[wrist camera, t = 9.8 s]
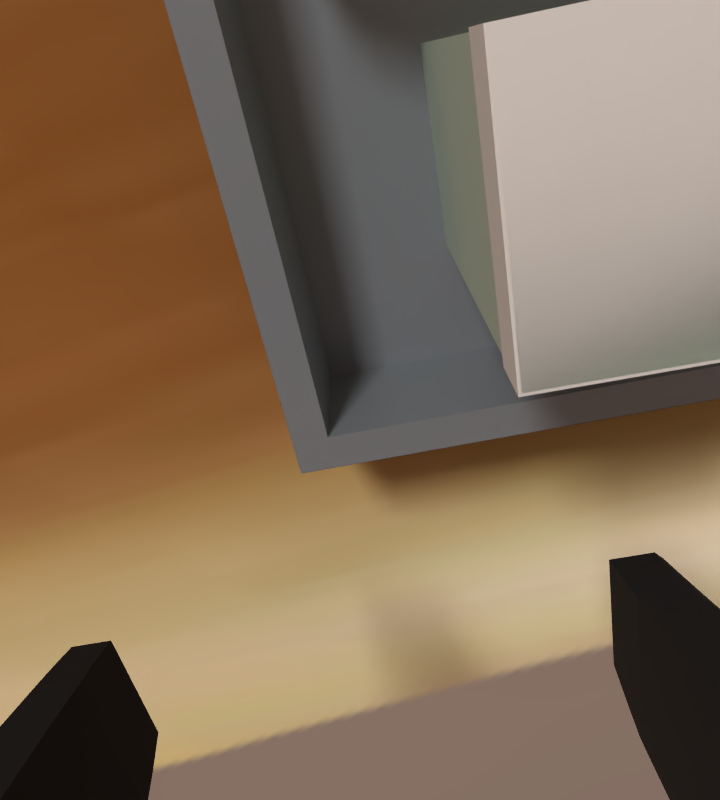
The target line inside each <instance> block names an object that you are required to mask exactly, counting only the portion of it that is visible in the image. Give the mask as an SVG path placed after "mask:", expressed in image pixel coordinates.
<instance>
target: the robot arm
mask: <svg viewBox="0 0 720 800" xmlns="http://www.w3.org/2000/svg"><path fill="white" fill-rule="evenodd" d="M609 564H610V587H611V609H612V631H613V653H614V666H615V669H616V671H617V674H618V677H619V680H620V683H621V686H622V689H623V691H624V694H625V697H626V700H627V703H628V706H629V708H630V711H631V714H632V716H633V719H634V722H635V724H636V727H637V729H638V733H639V735H640V738H641V740H642V742H643V744H644V746H645V749H646V751H647V753H648V755H649V757H650V759H651V761H652V763H653V765H654V767H655V770H656V772H657V774H658V776H659V778H660V780H661V782H662V784H663V786H664V789H665V790H666V793H667V794H668V797H669V799H670V800H720V609H719V608H718V607H717V606H716V605H715V604H714V603H712V602H711V601H710V600H709V599H708V598H707V597H706V596H704V595H703V594H702V593H701V592H700V591H699V590H698V589H696V588H695V587H694V586H693V585H692V584H691V583H690V582H689V581H688V580H686V579H685V578H684V577H683V576H682V575H681V574H680V573H679V572H677V571H676V570H675V569H674V568H673V567H672V566H671V565H670V564H669V563H668V562H666V561H665V560H664V559H663V558H662V557H660V556H659V555H657V554H656V553H649V554H642V555H636V556H630V557H624V558H618V559H612V560H609ZM157 737H158V731H157V729H156V727H155V725H154V723H153V721H152V719H151V718H150V716H149V714H148V712H147V710H146V708H145V706H144V704H143V702H142V700H141V698H140V696H139V694H138V692H137V690H136V688H135V686H134V684H133V682H132V681H131V679H130V677H129V675H128V673H127V671H126V669H125V667H124V665H123V663H122V661H121V659H120V657H119V655H118V653H117V651H116V649H115V647H114V646H113V644H112V642H111V641H106V642H100V643H94V644H88V645H82V646H76V647H71V649H70V650H69V651H68V652H67V653H66V654H65V655H64V656H63V657H62V658H61V659H60V660H59V661H58V662H57V663H56V664H55V665H54V667H53V668H52V669H51V670H50V671H49V672H48V673H47V674H46V675H45V677H44V678H43V679H42V680H41V681H40V682H39V683H38V684H37V685H36V687H35V688H34V689H33V690H32V691H31V692H30V693H29V695H28V696H27V697H26V698H25V699H24V700H23V701H22V703H21V704H20V705H19V706H18V707H17V708H16V709H15V710H14V712H13V713H12V714H11V715H10V716H9V717H8V718H7V720H6V721H5V722H4V723H3V724H2V725H1V726H0V800H148V795H149V790H150V784H151V779H152V773H153V766H154V759H155V752H156V745H157Z"/></svg>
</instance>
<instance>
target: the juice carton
mask: <svg viewBox="0 0 720 800" xmlns="http://www.w3.org/2000/svg"><path fill="white" fill-rule="evenodd" d="M468 28H469V32H467V33H463V34H459V35H454V36H450V37H446V38H442V39H437V40H433V41H429V42H425V43H420V48H421V56H422V63H423V71H424V78H425V86H426V93H427V101H428V108H429V116H430V123H431V131H432V138H433V146H434V153H435V161H436V168H437V176H438V183H439V191H440V198H441V206H442V213H443V221H444V228H445V236H446V243H447V247H448V249H449V251H450V253H451V255H452V257H453V259H454V261H455V263H456V265H457V267H458V269H459V271H460V273H461V275H462V277H463V279H464V281H465V283H466V285H467V287H468V289H469V291H470V293H471V295H472V297H473V299H474V301H475V302H476V304H477V306H478V308H479V310H480V312H481V314H482V316H483V318H484V320H485V322H486V324H487V326H488V328H489V330H490V332H491V334H492V336H493V338H494V340H495V342H496V344H497V346H498V348H499V350H500V352H501V354H502V358H503V367H504V369H505V371H506V373H507V375H508V377H509V379H510V381H511V383H512V385H513V387H514V389H515V391H516V394H517V396H518V397H523V396H529V395H535V394H540V393H546V392H552V391H558V390H564V389H569V388H575V387H581V386H587V385H592V384H598V383H604V382H610V381H616V380H621V379H627V378H633V377H639V376H644V375H650V374H656V373H662V372H668V371H673V370H679V369H685V368H691V367H696V366H702V365H708V364H714V363H720V0H589V1H584V2H579V3H575V4H570V5H565V6H561V7H556V8H552V9H547V10H542V11H538V12H533V13H528V14H524V15H519V16H514V17H510V18H505V19H501V20H496V21H491V22H487V23H482V24H479V25H475V26H471V27H468Z"/></svg>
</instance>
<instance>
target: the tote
mask: <svg viewBox="0 0 720 800" xmlns="http://www.w3.org/2000/svg"><path fill="white" fill-rule="evenodd" d="M584 1H589V0H164V2H165V6H166V9H167V13H168V16H169V20H170V23H171V26H172V30H173V33H174V37H175V40H176V44H177V47H178V51H179V54H180V57H181V61H182V64H183V68H184V71H185V75H186V78H187V82H188V85H189V88H190V92H191V95H192V99H193V102H194V106H195V109H196V113H197V116H198V119H199V123H200V126H201V130H202V133H203V137H204V140H205V143H206V147H207V150H208V154H209V157H210V161H211V164H212V168H213V171H214V174H215V178H216V181H217V185H218V188H219V192H220V195H221V199H222V202H223V205H224V209H225V212H226V216H227V219H228V223H229V226H230V230H231V233H232V236H233V240H234V243H235V247H236V250H237V254H238V257H239V260H240V264H241V267H242V271H243V274H244V278H245V281H246V285H247V288H248V291H249V295H250V298H251V302H252V305H253V309H254V312H255V316H256V319H257V322H258V326H259V329H260V333H261V336H262V340H263V343H264V347H265V350H266V353H267V357H268V360H269V364H270V367H271V371H272V374H273V377H274V381H275V384H276V388H277V391H278V395H279V398H280V402H281V405H282V408H283V412H284V415H285V419H286V422H287V426H288V429H289V433H290V436H291V439H292V443H293V446H294V450H295V453H296V457H297V460H298V464H299V467H300V470H301V474H302V473H307V472H313V471H318V470H324V469H329V468H335V467H341V466H346V465H352V464H357V463H363V462H368V461H374V460H380V459H385V458H391V457H396V456H402V455H408V454H413V453H419V452H424V451H430V450H435V449H441V448H447V447H452V446H458V445H463V444H469V443H474V442H480V441H486V440H491V439H497V438H502V437H508V436H513V435H519V434H525V433H530V432H536V431H541V430H547V429H553V428H558V427H564V426H569V425H575V424H580V423H586V422H592V421H597V420H603V419H608V418H614V417H619V416H625V415H631V414H636V413H642V412H647V411H653V410H658V409H664V408H670V407H675V406H681V405H686V404H692V403H698V402H703V401H709V400H714V399H720V363H714V364H708V365H702V366H696V367H691V368H685V369H679V370H673V371H668V372H662V373H656V374H650V375H644V376H639V377H633V378H627V379H621V380H616V381H610V382H604V383H598V384H592V385H587V386H581V387H575V388H569V389H564V390H558V391H552V392H546V393H540V394H535V395H529V396H523V397H518V396H517V394H516V391H515V389H514V387H513V385H512V383H511V381H510V379H509V377H508V375H507V373H506V371H505V369H504V367H503V358H502V354H501V352H500V350H499V348H498V346H497V344H496V342H495V340H494V338H493V336H492V334H491V332H490V330H489V328H488V326H487V324H486V322H485V320H484V318H483V316H482V314H481V312H480V310H479V308H478V306H477V304H476V302H475V301H474V299H473V297H472V295H471V293H470V291H469V289H468V287H467V285H466V283H465V281H464V279H463V277H462V275H461V273H460V271H459V269H458V267H457V265H456V263H455V261H454V259H453V257H452V255H451V253H450V251H449V249H448V247H447V243H446V236H445V228H444V221H443V213H442V206H441V198H440V191H439V183H438V176H437V168H436V161H435V153H434V146H433V138H432V131H431V123H430V116H429V108H428V101H427V93H426V86H425V78H424V71H423V63H422V56H421V48H420V43H425V42H429V41H433V40H437V39H442V38H446V37H450V36H454V35H459V34H463V33H467V32H469V28H468V27H471V26H475V25H479V24H482V23H487V22H491V21H496V20H501V19H505V18H510V17H514V16H519V15H524V14H528V13H533V12H538V11H542V10H547V9H552V8H556V7H561V6H565V5H570V4H575V3H579V2H584Z"/></svg>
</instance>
